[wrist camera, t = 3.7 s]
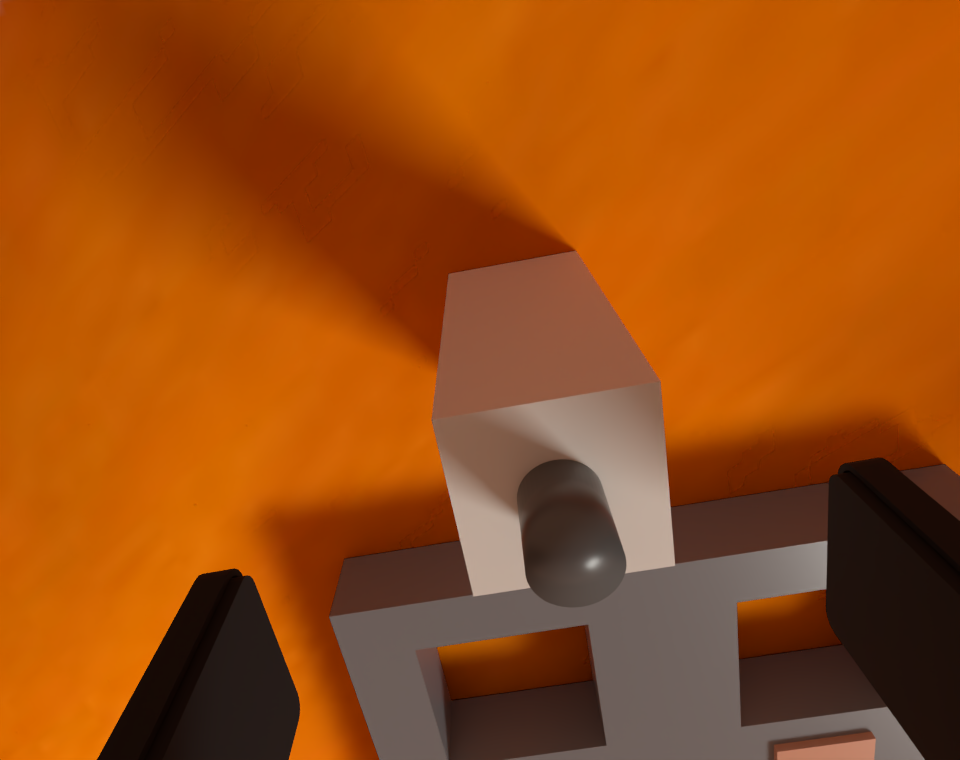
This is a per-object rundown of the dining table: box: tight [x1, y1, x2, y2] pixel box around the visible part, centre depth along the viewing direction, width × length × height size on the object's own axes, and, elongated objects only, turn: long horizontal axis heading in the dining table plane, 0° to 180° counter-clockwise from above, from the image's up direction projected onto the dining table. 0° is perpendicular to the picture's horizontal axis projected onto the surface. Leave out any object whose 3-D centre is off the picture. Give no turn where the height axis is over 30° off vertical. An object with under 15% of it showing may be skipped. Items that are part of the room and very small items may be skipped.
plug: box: [432, 251, 675, 608], centre depth 16 cm, size 4×4×12 cm
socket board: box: [329, 464, 960, 760], centre depth 26 cm, size 14×22×3 cm, turn 100°
